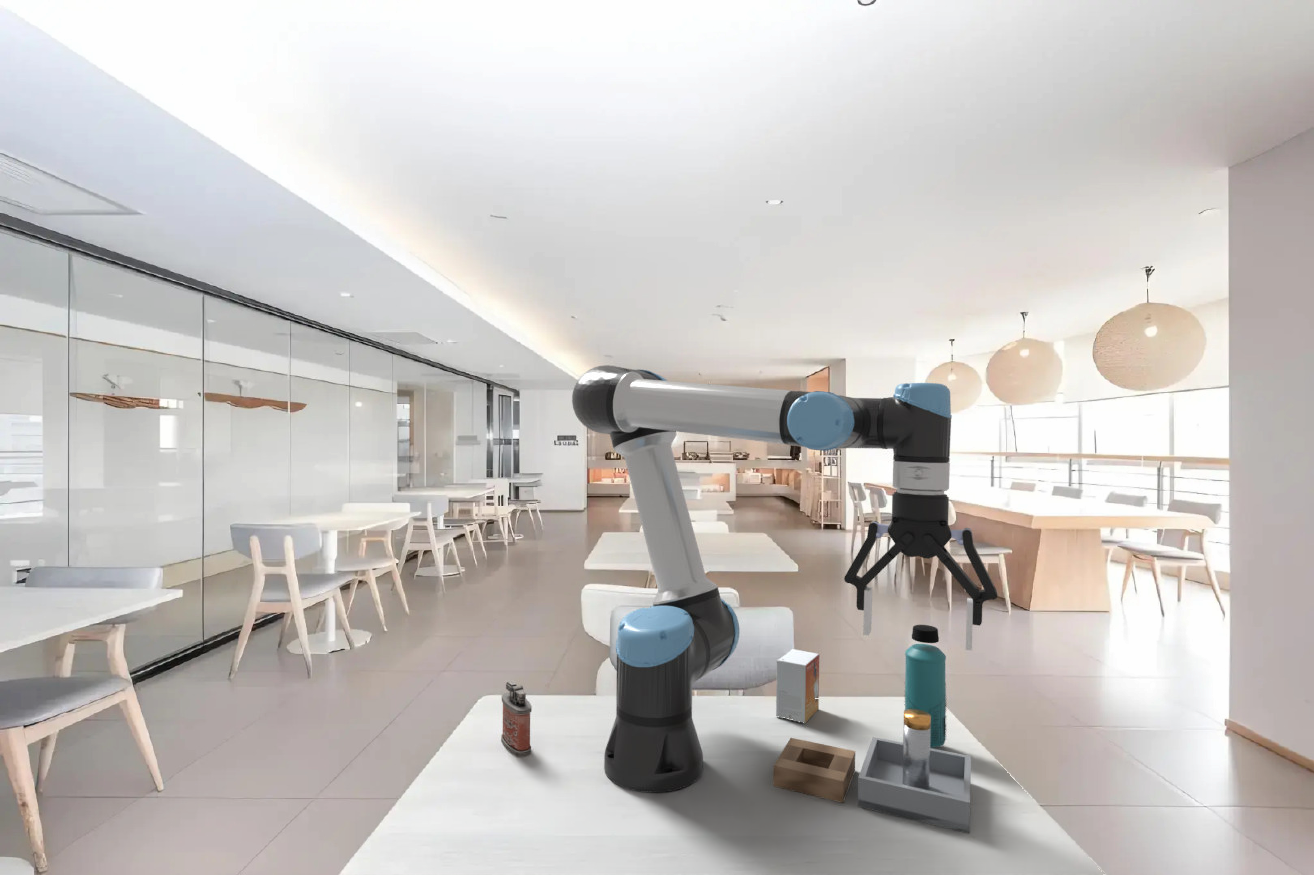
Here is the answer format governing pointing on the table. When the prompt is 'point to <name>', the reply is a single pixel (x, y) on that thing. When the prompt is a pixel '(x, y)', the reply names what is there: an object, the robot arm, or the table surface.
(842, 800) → the block
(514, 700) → the lighter
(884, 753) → the tray
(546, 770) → the table surface
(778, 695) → the small box
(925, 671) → the beverage bottle
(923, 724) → the pin
